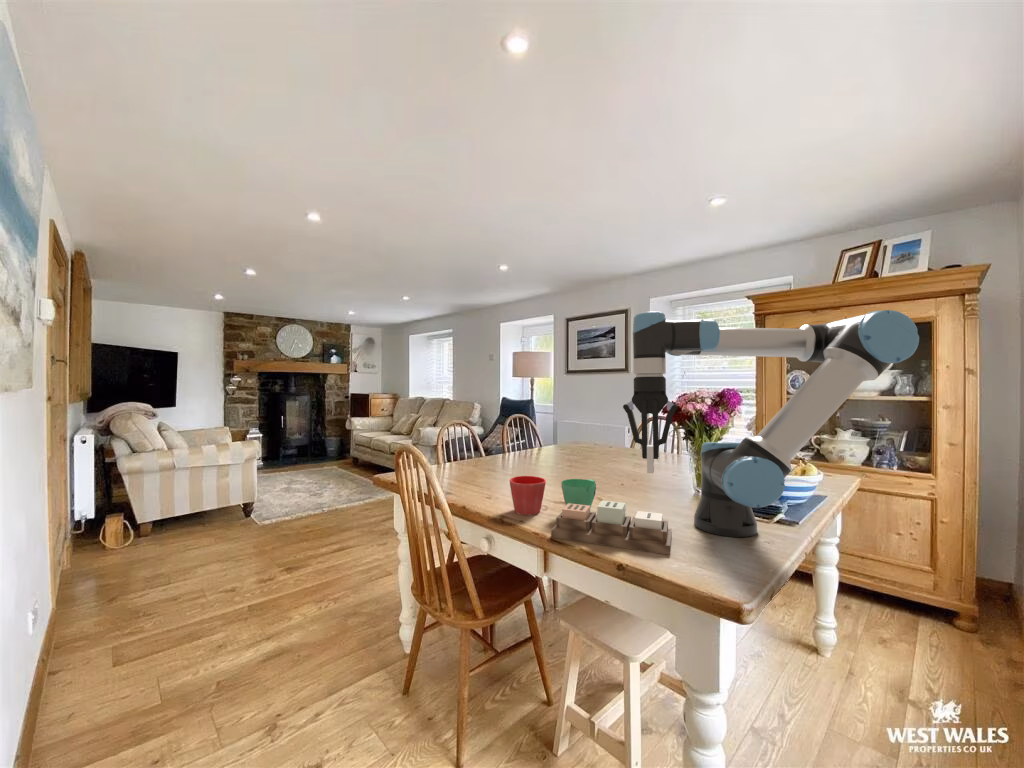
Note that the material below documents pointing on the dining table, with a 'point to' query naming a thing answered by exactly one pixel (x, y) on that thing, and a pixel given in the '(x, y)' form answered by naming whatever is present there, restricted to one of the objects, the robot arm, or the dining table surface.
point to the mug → (578, 491)
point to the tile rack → (614, 534)
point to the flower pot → (527, 494)
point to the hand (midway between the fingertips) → (650, 472)
